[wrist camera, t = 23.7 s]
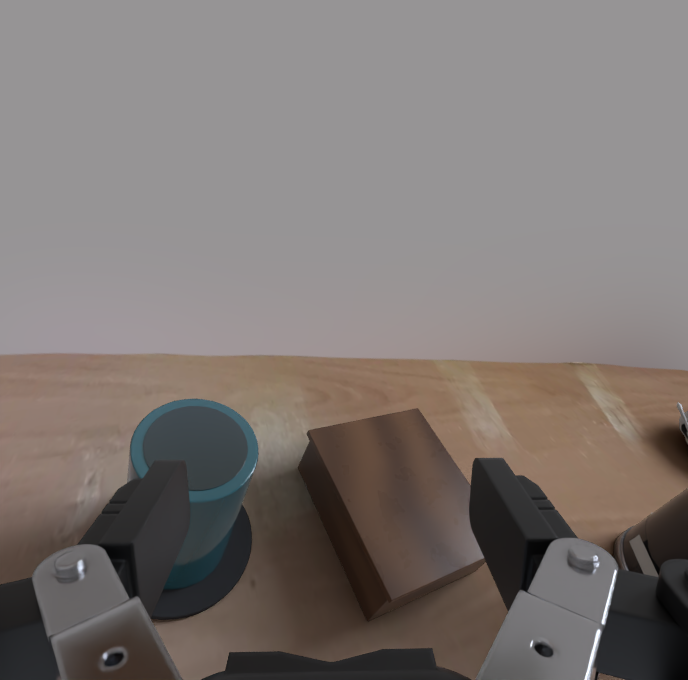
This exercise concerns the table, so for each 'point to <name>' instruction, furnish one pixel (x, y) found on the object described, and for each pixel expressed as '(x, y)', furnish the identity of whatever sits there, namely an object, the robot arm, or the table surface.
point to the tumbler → (200, 475)
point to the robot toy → (683, 421)
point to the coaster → (210, 578)
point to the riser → (391, 507)
